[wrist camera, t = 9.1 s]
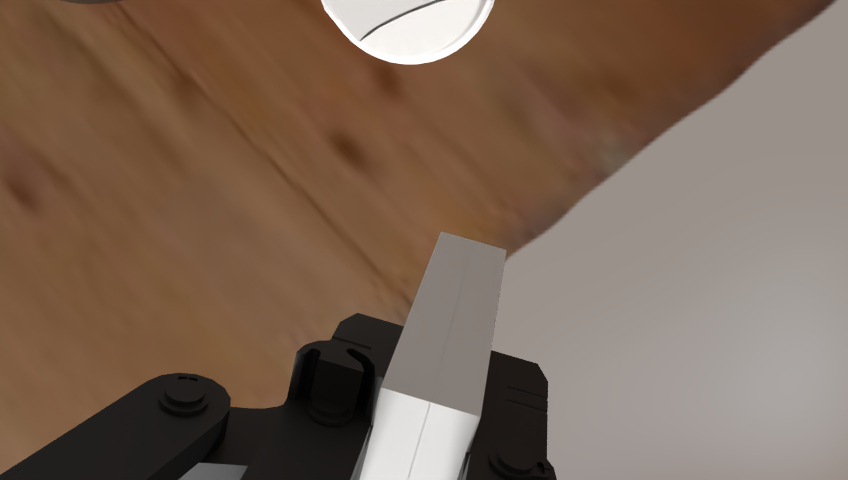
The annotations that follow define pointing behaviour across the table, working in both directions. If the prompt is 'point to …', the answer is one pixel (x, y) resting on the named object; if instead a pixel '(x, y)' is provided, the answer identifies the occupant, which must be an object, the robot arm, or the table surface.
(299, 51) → the table surface
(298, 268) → the table surface
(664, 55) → the table surface
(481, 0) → the coffee cup
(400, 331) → the robot arm
